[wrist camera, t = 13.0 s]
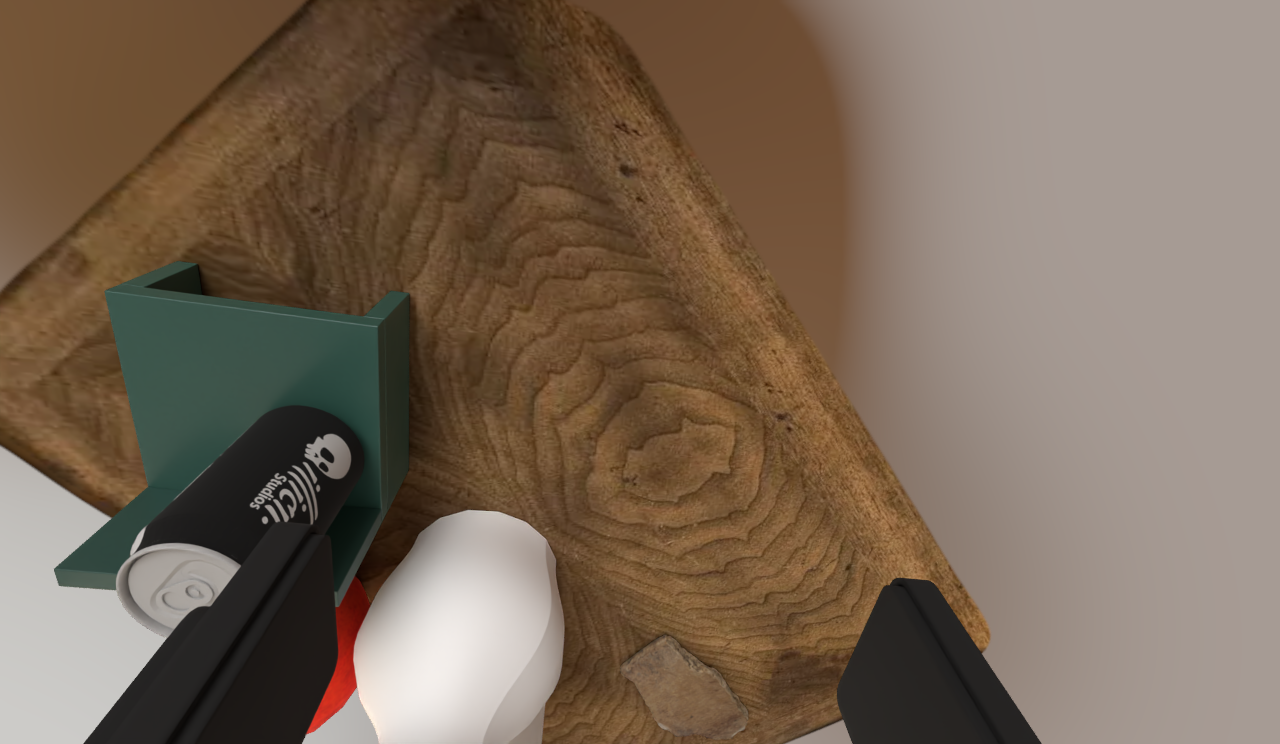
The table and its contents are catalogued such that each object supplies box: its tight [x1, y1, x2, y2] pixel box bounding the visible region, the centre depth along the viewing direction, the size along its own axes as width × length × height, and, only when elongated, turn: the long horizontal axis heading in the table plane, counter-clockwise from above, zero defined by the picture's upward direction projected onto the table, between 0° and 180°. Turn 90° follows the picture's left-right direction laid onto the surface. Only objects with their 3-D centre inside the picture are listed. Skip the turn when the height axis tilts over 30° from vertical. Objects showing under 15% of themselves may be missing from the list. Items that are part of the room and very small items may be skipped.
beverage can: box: [116, 405, 365, 638], centre depth 31 cm, size 7×7×12 cm
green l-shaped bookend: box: [54, 261, 409, 607], centre depth 35 cm, size 14×14×13 cm
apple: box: [307, 576, 370, 734], centre depth 43 cm, size 10×10×12 cm
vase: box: [353, 510, 565, 744], centre depth 40 cm, size 14×14×20 cm
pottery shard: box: [620, 635, 748, 740], centre depth 56 cm, size 8×3×15 cm
